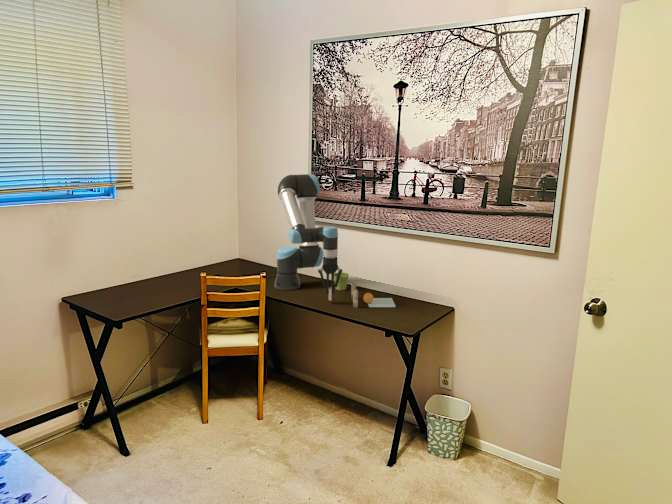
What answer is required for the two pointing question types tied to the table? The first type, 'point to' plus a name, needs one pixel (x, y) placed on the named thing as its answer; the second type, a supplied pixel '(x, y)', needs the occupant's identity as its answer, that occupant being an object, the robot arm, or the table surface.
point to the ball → (368, 297)
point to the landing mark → (382, 302)
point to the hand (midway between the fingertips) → (330, 299)
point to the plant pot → (341, 281)
